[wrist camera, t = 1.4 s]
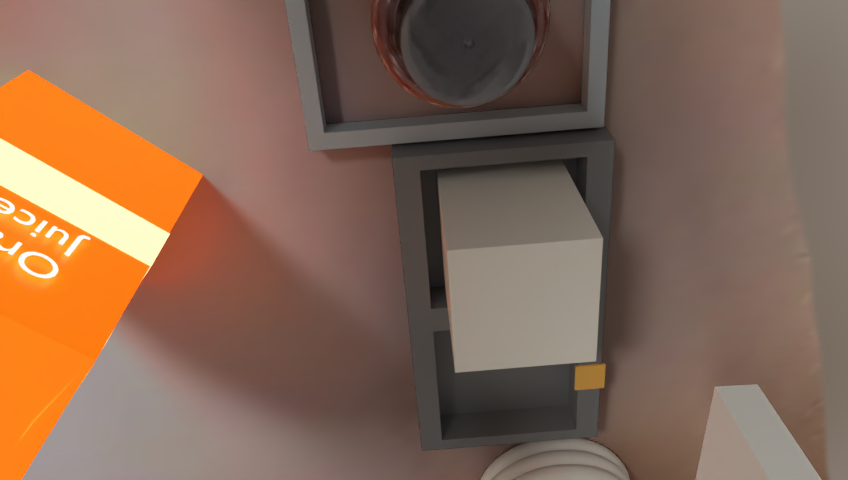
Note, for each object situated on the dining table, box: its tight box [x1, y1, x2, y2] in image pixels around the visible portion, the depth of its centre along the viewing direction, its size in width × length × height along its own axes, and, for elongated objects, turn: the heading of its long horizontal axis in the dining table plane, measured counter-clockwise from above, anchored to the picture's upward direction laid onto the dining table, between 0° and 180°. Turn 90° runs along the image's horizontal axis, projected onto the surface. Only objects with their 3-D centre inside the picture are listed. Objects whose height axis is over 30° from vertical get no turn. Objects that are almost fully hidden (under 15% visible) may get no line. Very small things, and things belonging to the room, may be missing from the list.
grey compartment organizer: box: [392, 126, 615, 451], centre depth 35 cm, size 18×10×8 cm, turn 4°
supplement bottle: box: [371, 0, 551, 108], centre depth 26 cm, size 6×6×11 cm
